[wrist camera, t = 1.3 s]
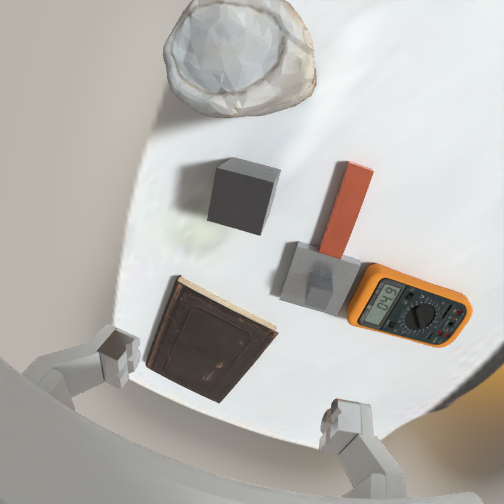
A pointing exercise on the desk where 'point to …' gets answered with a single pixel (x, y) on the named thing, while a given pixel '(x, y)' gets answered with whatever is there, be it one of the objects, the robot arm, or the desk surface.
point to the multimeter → (408, 307)
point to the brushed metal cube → (243, 195)
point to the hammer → (329, 251)
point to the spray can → (240, 57)
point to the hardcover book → (206, 341)
